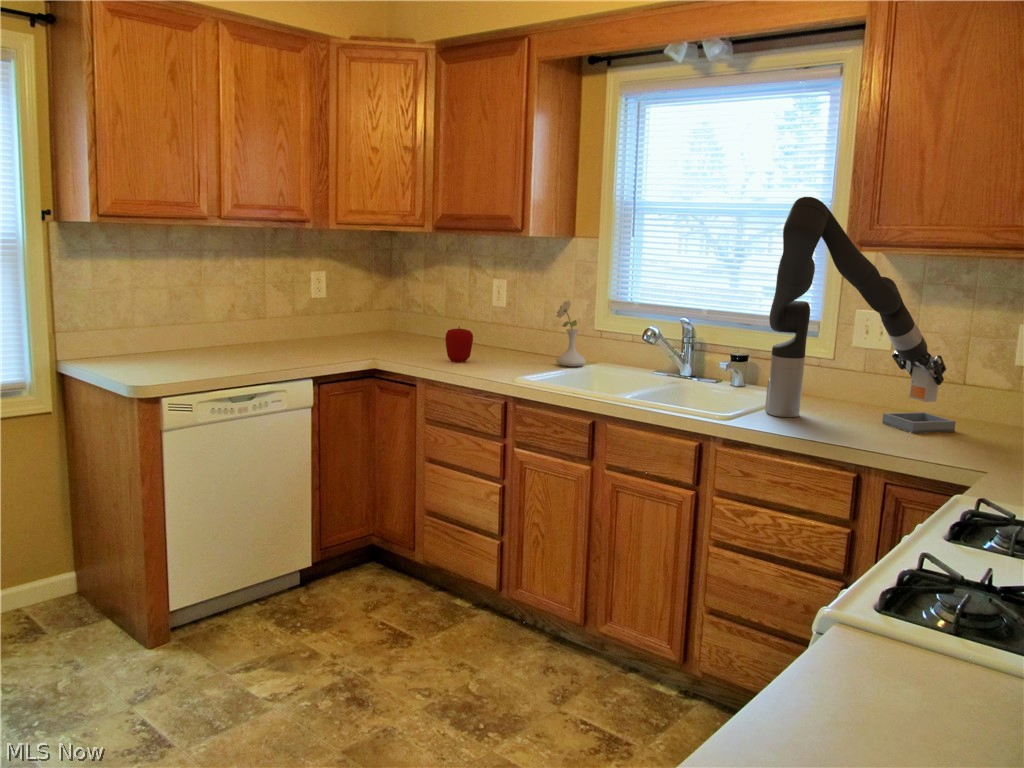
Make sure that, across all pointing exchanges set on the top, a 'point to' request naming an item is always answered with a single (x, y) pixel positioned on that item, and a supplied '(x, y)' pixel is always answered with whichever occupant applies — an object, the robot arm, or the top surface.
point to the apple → (458, 344)
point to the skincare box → (923, 385)
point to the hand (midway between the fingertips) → (928, 380)
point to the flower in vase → (571, 354)
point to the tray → (919, 422)
